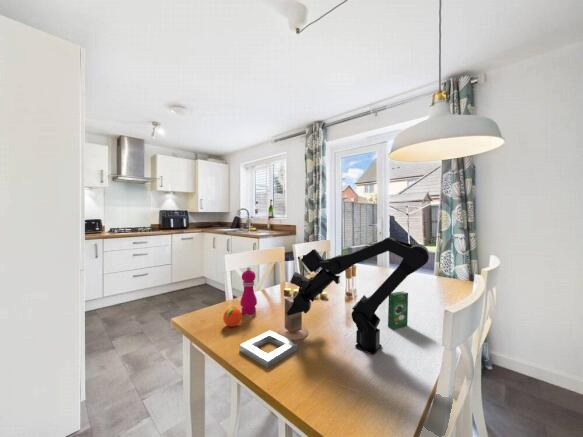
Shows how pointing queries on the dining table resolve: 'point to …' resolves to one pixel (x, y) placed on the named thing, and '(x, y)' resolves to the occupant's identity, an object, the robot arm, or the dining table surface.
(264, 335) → the metal collar stand
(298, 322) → the walnut block
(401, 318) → the coffee box
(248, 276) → the pepper mill
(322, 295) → the yellow cube row
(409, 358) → the dining table surface
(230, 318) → the clementine
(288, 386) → the dining table surface
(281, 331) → the terracotta coaster
